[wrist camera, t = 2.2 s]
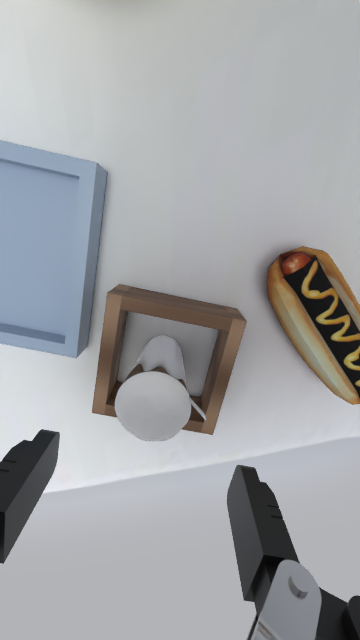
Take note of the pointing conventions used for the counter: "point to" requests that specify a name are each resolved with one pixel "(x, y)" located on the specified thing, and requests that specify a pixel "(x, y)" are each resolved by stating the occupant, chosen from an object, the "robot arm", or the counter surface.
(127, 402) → the milkshake
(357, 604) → the robot arm
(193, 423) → the holder
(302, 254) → the hot dog
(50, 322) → the tray
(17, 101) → the counter surface
